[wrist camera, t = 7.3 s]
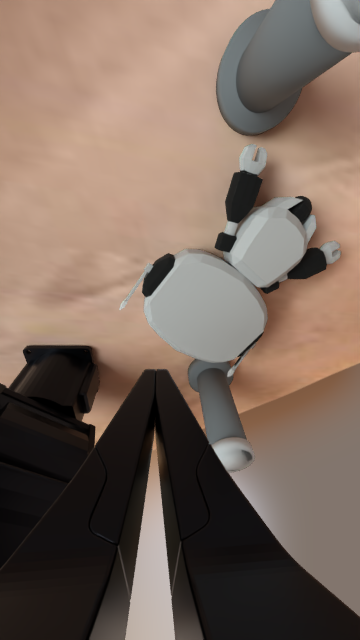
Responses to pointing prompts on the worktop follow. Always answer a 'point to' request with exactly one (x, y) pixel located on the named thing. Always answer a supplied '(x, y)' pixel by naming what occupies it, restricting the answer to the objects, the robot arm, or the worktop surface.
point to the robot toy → (233, 272)
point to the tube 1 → (221, 414)
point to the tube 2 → (282, 58)
